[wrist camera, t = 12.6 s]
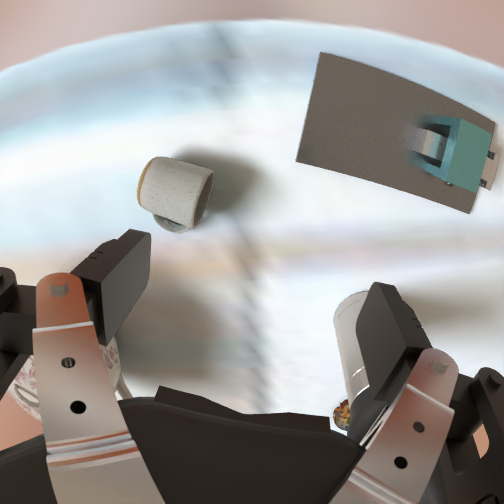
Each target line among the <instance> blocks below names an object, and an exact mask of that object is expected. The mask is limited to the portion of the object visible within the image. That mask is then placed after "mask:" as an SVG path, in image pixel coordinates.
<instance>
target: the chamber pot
mask: <svg viewBox="0 0 504 504" xmlns="http://www.w3.org/2000/svg"><path fill="white" fill-rule="evenodd" d="M99 346H100V350H101V353H102V357H103V360H104V363H105V366H106V369H107V373H108V376H109V379H110V382H111V385H112V388H113V391H114V393H115V392H116V390H117V391H118V393H119V394H120V396H121V397H122V399H128V398H133V396H132V395H131V393H130V391H129V390H128V388H127V386H126V384H125V382H124V380H123V377H122V374H121V366H120V359H119V353H118V348H117V342H116V338H115V336H113V338H112V339H111V341H110V343H109V344H108V346H107V347H106V346H103V345H101V344H99ZM6 393H7V394H8V395H9V396H10V398H11V399H12V400H13V401H15V402H16V403H17V404H18V405H19V406H20V407H21V408H22V409H24V410H25V411H26V412H27V413H29V414H30V415H31V416H33V417H34V418H36V419H37V420H39V421H40V422H42V421H41V415H40V409H39V402H38V394H37V386H36V377H35V367H34V356H33V355H30V357H29V358H28V360H27V361H26V362H25V364H24V365H23V367H22V368H21V370H20V371H19V373H18V374H17V376H16V377H15V379H14V380H13V382H12V383H11V385H10V386H9V388H8V389H7V391H6Z"/></svg>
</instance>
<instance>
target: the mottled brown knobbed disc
mask: <svg viewBox="0 0 504 504" xmlns="http://www.w3.org/2000/svg"><path fill="white" fill-rule="evenodd" d="M333 418H334V422H335V424H336V426H337V427H338V428H340V429H342V430H345V431H347V430H348V426H349V423H350V420H351V415H350V408H349V402H348V399H347V400H345V401H343V402H342V403H340V408H339V409H337V408H335V410H334V412H333Z"/></svg>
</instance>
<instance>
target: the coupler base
mask: <svg viewBox="0 0 504 504" xmlns="http://www.w3.org/2000/svg"><path fill="white" fill-rule="evenodd" d="M438 116H447V117H455V118H462V119H464V120H466V121H468V122H470V123H472V124H474V125H476V126H478V127H480V128H482V129H484V130H485V131H487V132H489V133H491V134H492V135H493V131H494V127H495V122H493V121H491V120H489V119H488V118H486V117H484V116H482V115H480V114H479V113H477V112H475V111H473V110H471V109H469V108H467V107H465V106H463V105H461V104H459V103H457V102H455V101H453V100H451V99H449V98H447V97H445V96H443V95H441V94H438V93H436V92H434V91H432V90H430V89H427V88H425V87H423V86H420V85H418V84H415V83H413V82H411V81H408V80H406V79H403V78H400V77H398V76H395V75H393V74H390V73H387V72H384V71H381V70H379V69H376V68H373V67H370V66H367V65H364V64H361V63H357V62H354V61H351V60H348V59H344V58H341V57H337V56H334V55H330V54H326V53H322V52H320V53H319V58H318V63H317V67H316V72H315V77H314V81H313V86H312V90H311V95H310V99H309V104H308V108H307V113H306V117H305V121H304V126H303V130H302V135H301V139H300V143H299V148H298V152H297V156H296V162H299V163H304V164H308V165H312V166H316V167H320V168H324V169H328V170H332V171H336V172H339V173H343V174H347V175H350V176H354V177H358V178H361V179H365V180H368V181H372V182H375V183H378V184H382V185H385V186H388V187H392V188H395V189H398V190H401V191H404V192H407V193H411V194H414V195H417V196H420V197H423V198H426V199H429V200H431V201H434V202H437V203H440V204H443V205H446V206H449V207H451V208H454V209H457V210H459V211H462V212H465V213H467V214H470V211H471V208H472V205H473V202H474V199H475V196H476V193H474V192H472V191H470V190H467V189H465V188H462V187H459V186H457V185H453V187H450V186H447V185H445V184H444V183H445V181H444V180H442V179H440V178H438V177H437V176H435V175H433V174H431V173H429V172H427V171H425V167H426V163H430V164H432V165H435V166H438V167H441V164H442V160H443V156H444V153H445V149H446V145H447V141H448V137H449V132H450V129H448V128H446V127H444V126H441V125H439V124H437V119H438ZM491 140H492V138H491ZM490 144H491V142H490ZM489 148H490V146H489ZM499 159H500V156H499V155H498V154H496V153H493V152H490V151H489V150H488V154H487V158H486V162H485V166H484V169H483V173H482V176H481V180H480V183H479V185H480V186H482V187H484V188H486V189H488V190H491V187H492V184H493V180H494V177H495V173H496V170H497V166H498V163H499Z"/></svg>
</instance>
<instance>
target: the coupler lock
mask: <svg viewBox="0 0 504 504" xmlns="http://www.w3.org/2000/svg"><path fill="white" fill-rule="evenodd" d="M437 124H439V125H441V126H444V127H446V128H448V129H450V132H449V137H448V141H447V145H446V149H445V153H444V156H443V160H442V164H441V167H438V166H435V165H432V164H430V163H426V167H425V171H427V172H429V173H431V174H433V175H435V176H437V177H438V178H440V179H442V180H444V181H445V183H444V184H445V185H447V186H450V187H453V185H457V186H459V187H462V188H465V189H467V190H470V191H472V192H474V193H477V190H478V187H479V183H480V180H481V176H482V173H483V169H484V166H485V162H486V158H487V154H488V150H489V146H490V142H491V138H492V134H491V133H489V132H487V131H485V130H484V129H482V128H480V127H478V126H476V125H474V124H472V123H470V122H468V121H466V120H464V119H462V118H455V117H447V116H438V119H437Z"/></svg>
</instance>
